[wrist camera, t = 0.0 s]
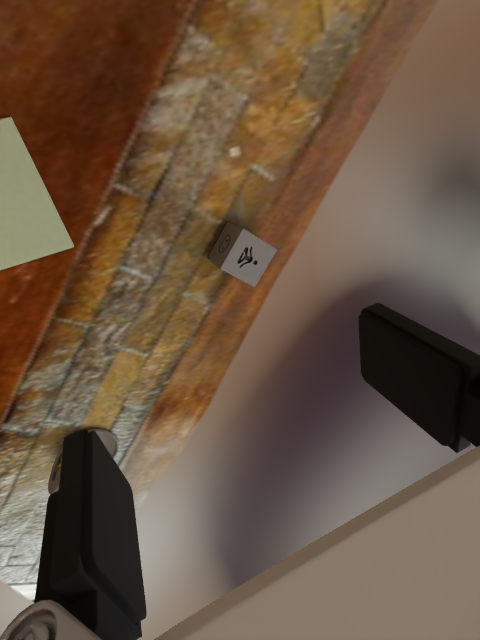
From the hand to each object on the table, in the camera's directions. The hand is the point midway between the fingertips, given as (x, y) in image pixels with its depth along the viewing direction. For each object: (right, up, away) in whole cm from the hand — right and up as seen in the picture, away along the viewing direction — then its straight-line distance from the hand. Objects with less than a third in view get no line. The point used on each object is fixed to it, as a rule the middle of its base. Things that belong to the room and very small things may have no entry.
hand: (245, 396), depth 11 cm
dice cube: (-1, +12, +31) cm, 33 cm away
